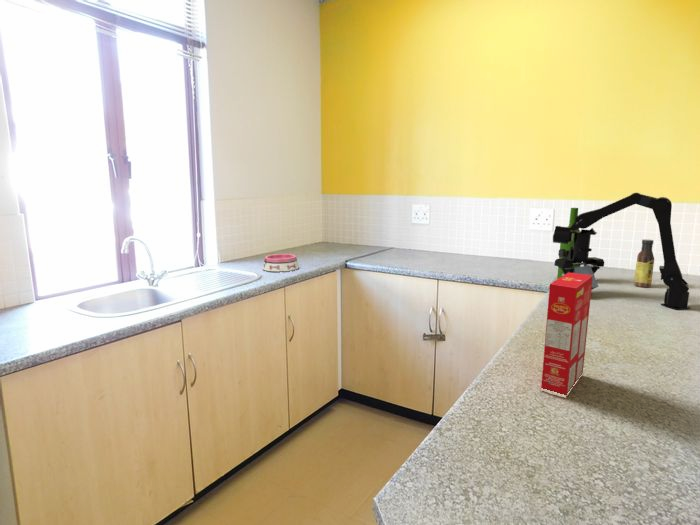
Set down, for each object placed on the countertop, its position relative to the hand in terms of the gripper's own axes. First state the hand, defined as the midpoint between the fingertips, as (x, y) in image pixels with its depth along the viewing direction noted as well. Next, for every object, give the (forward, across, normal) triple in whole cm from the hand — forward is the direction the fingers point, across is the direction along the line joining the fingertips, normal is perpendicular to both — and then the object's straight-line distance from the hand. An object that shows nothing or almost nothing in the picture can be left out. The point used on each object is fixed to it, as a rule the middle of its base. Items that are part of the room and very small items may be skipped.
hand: (577, 283), depth 183 cm
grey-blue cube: (+2, 0, +4) cm, 4 cm away
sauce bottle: (+4, -36, -4) cm, 37 cm away
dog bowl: (+7, +111, -79) cm, 136 cm away
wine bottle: (+4, -12, -20) cm, 24 cm away
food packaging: (+4, +58, +66) cm, 88 cm away
